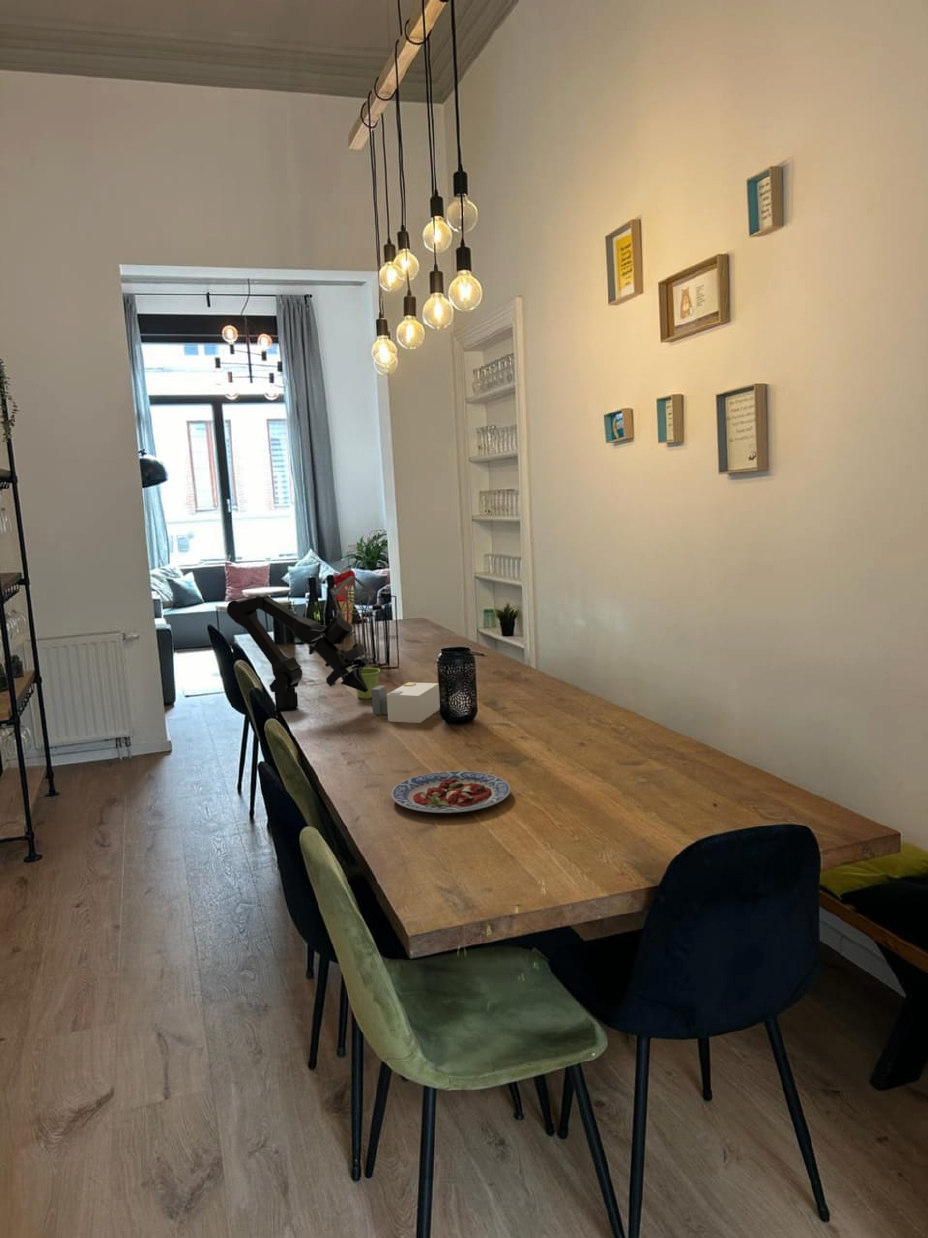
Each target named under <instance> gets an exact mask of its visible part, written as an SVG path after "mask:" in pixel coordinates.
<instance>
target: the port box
mask: <svg viewBox="0 0 928 1238" xmlns="http://www.w3.org/2000/svg"><path fill="white" fill-rule="evenodd" d="M386 694H387V710H388V714H387V721H388V722H394V723H397V722H398V723H411V724H412V723H414V724H421V723H423V721H425V720H427V719H428V718H429V717H430V716H433V715H434V714H435V713H437V712H438V711H439V710H440V709H441V707H440V706H441V702H440V685H439V683H434V682H432V683H431V682H409V681H408V682H407V683H404V684H403V685H400V686H399V687H397V688H395V689H394V690H392V691H390V692H387V693H386ZM439 708H440V709H439ZM436 711H437V712H436ZM433 713H434V714H433ZM426 718H427V719H426Z"/></svg>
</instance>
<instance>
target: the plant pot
mask: <svg viewBox="0 0 928 1238" xmlns="http://www.w3.org/2000/svg"><path fill="white" fill-rule="evenodd" d="M380 673H381V669H379V668H376V667H368V668H366V667H364V668H363V669H362V670H361V675H362V678H363V680H364V682H365V684H366V686H367V688H368V691H367V692H362V691H360V690H357V689H355V690H356V695H357V698H359V699H362V700H364V699H366V700H369V699H372V689H373V688H375V687H377V686H378V684H379V683H378V681H379V677H380Z"/></svg>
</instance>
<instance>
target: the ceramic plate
mask: <svg viewBox="0 0 928 1238" xmlns="http://www.w3.org/2000/svg"><path fill="white" fill-rule="evenodd" d="M390 793H391V795H390V796H391V799H392V800H393V802H395V803H396V804H398V805H400V806H401V807H404V808H407V809H410V810H414V811H418V812H423V813H425V812H426V813H438V814H440V813H441V814H451V813H463V812H471V811H475V810H476V811H477V810H481V809H484V808H488V807H491V806H494V805H496V804H498V803H500V802H502V801H503V800H505V799H506V798H507V797H509V795H510V793H511V786H510V784H509V782H507V781H506V780H504V779H502V778H501V777H499V776H495V775H493V774H489V773H484V772H478V771H467V770H448V771H446V770H445V771H435V772H430V773H425V774H420V775H416V776H413V777H410V778H407V779H405V780H403V781H400V782H399V783H398V784H396V785H395V786H394V787H393V789H391V792H390Z"/></svg>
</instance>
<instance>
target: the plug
mask: <svg viewBox="0 0 928 1238" xmlns="http://www.w3.org/2000/svg"><path fill="white" fill-rule="evenodd" d="M387 694H388V693H387V685H377V687H375V688H373V689H372V697H371V703H372V705H371V706H372V715H388V710H387Z"/></svg>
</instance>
